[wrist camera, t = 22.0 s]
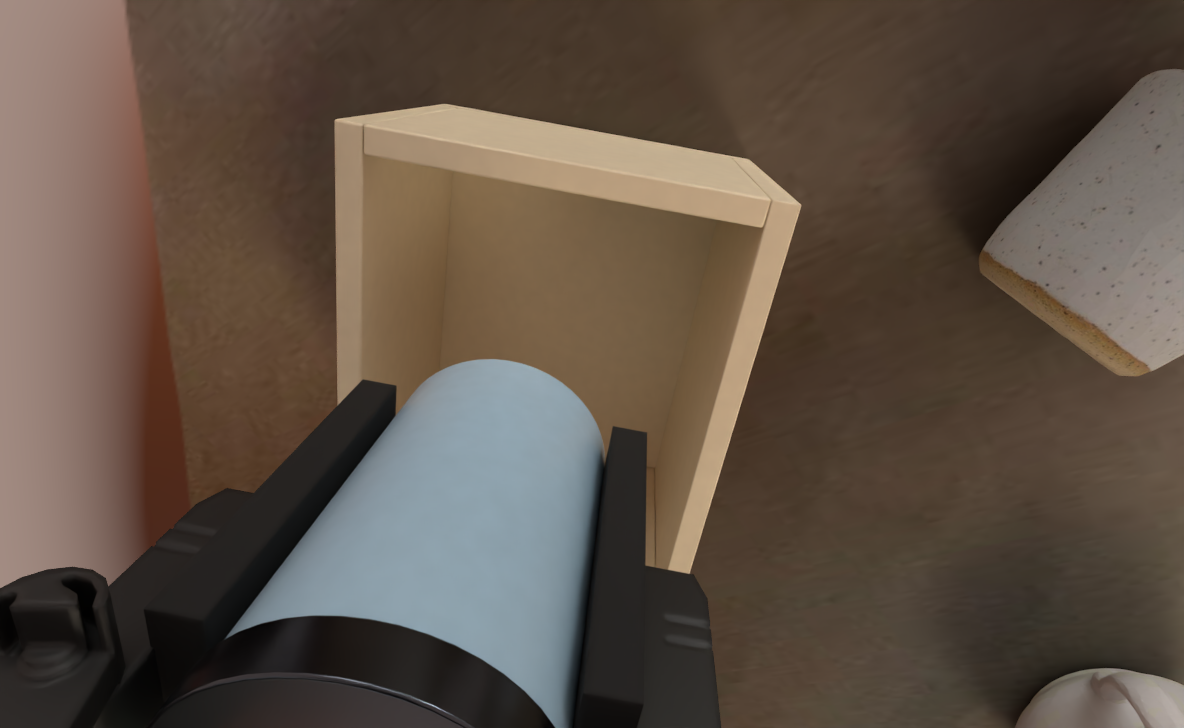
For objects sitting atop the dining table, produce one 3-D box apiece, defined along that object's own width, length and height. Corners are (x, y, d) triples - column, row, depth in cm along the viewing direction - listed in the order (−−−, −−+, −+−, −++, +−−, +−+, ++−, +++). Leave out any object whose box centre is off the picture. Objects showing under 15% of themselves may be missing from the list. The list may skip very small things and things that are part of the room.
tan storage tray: (443, 103, 26) (333, 118, 17) (749, 159, 25) (801, 204, 17) (424, 428, 32) (338, 563, 23) (667, 474, 32) (673, 627, 23)
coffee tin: (378, 351, 14) (65, 660, 6) (610, 356, 13) (558, 694, 6) (408, 536, 16) (197, 931, 8) (609, 546, 15) (571, 970, 8)
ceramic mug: (931, 247, 26) (1035, 312, 19) (1100, 62, 23) (1297, 61, 16) (1110, 376, 28) (1263, 478, 21) (1289, 222, 25) (1540, 283, 18)
